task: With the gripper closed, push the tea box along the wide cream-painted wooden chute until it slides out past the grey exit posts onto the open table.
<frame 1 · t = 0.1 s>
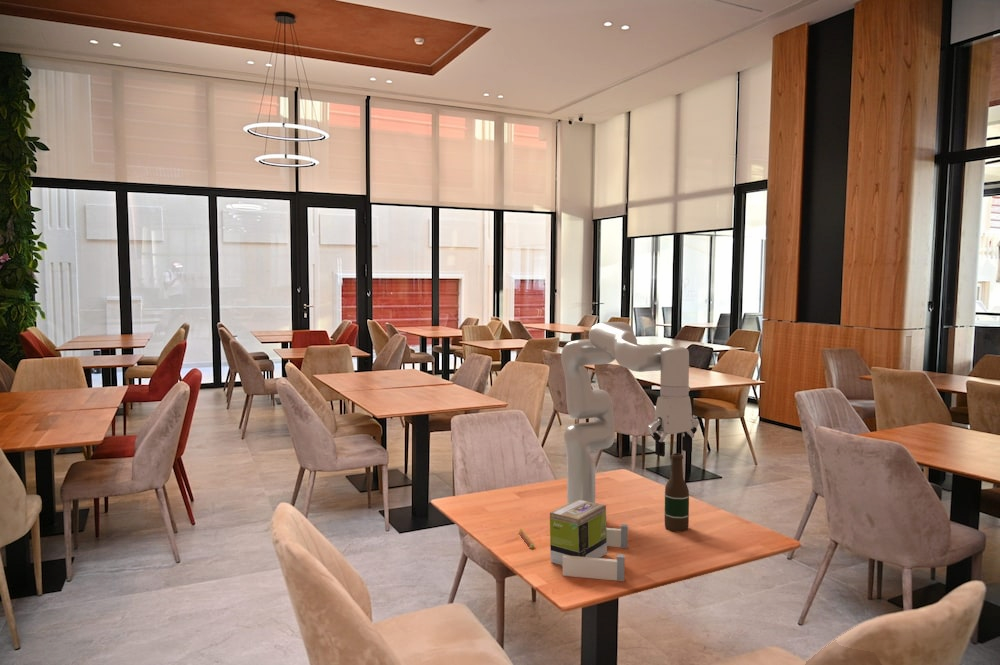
hand: (673, 453, 184), 31 cm above the table, tool pointing down, fingers open, 9 cm apart
chocolate bar: (526, 543, 204), on the table
tea box: (578, 559, 190), on the table
beer bottle: (676, 528, 214), on the table
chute: (596, 559, 189), on the table
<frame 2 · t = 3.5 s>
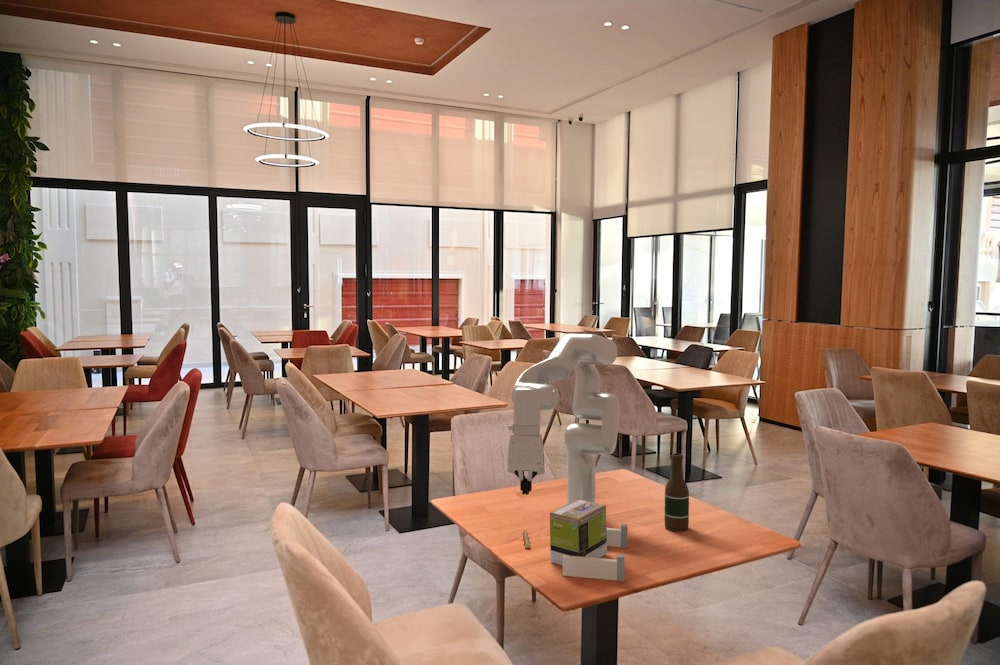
hand: (525, 493, 192), 18 cm above the table, tool pointing down, fingers closed
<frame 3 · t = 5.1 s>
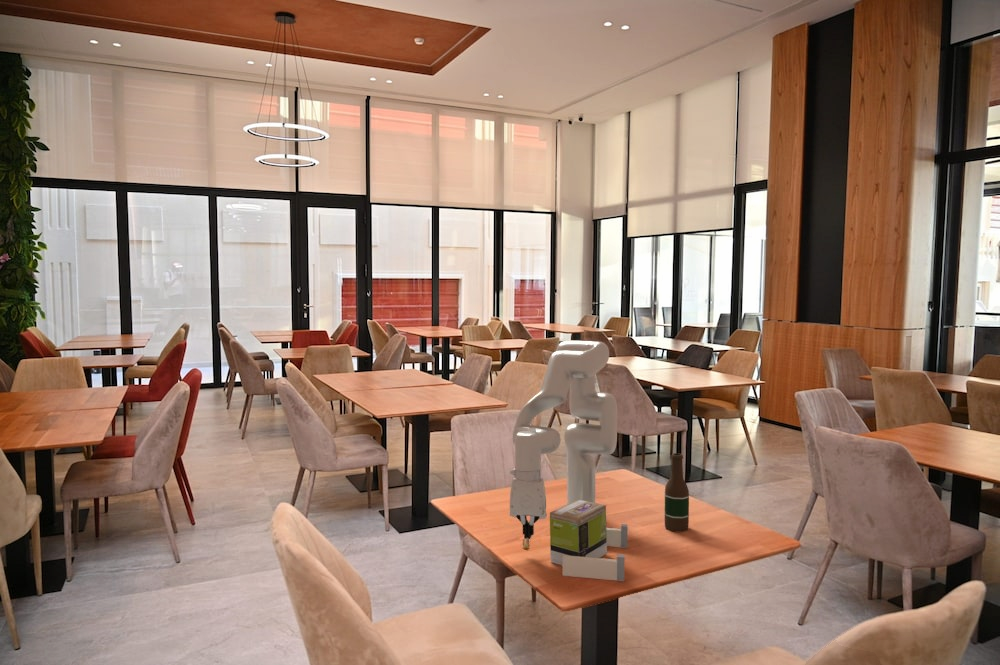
hand: (528, 536, 193), 5 cm above the table, tool pointing down, fingers closed
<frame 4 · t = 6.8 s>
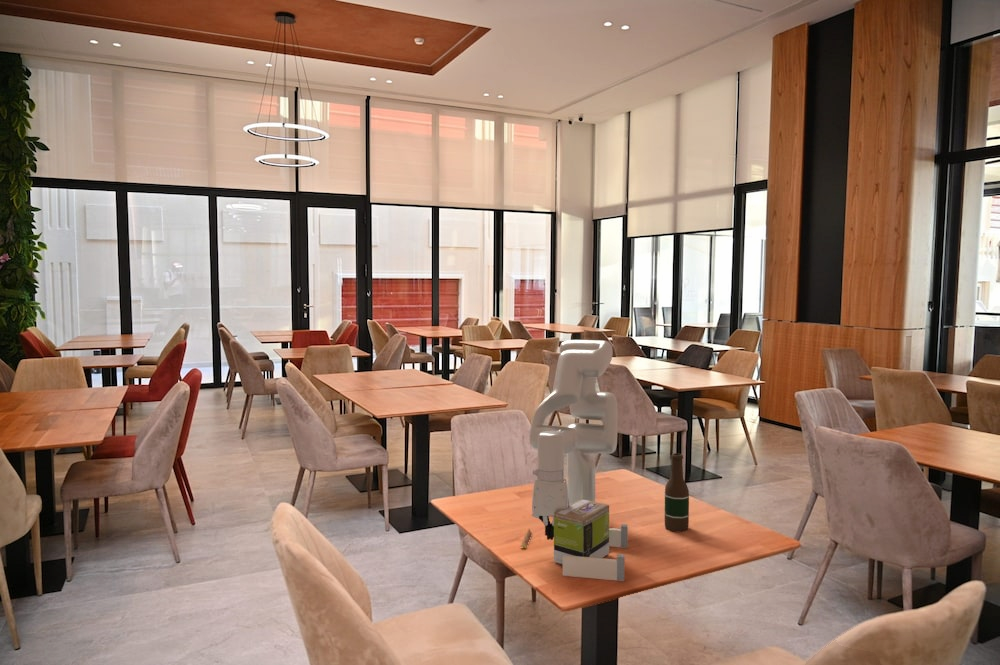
hand: (550, 538, 191), 5 cm above the table, tool pointing down, fingers closed
tea box: (581, 559, 190), on the table, touching gripper
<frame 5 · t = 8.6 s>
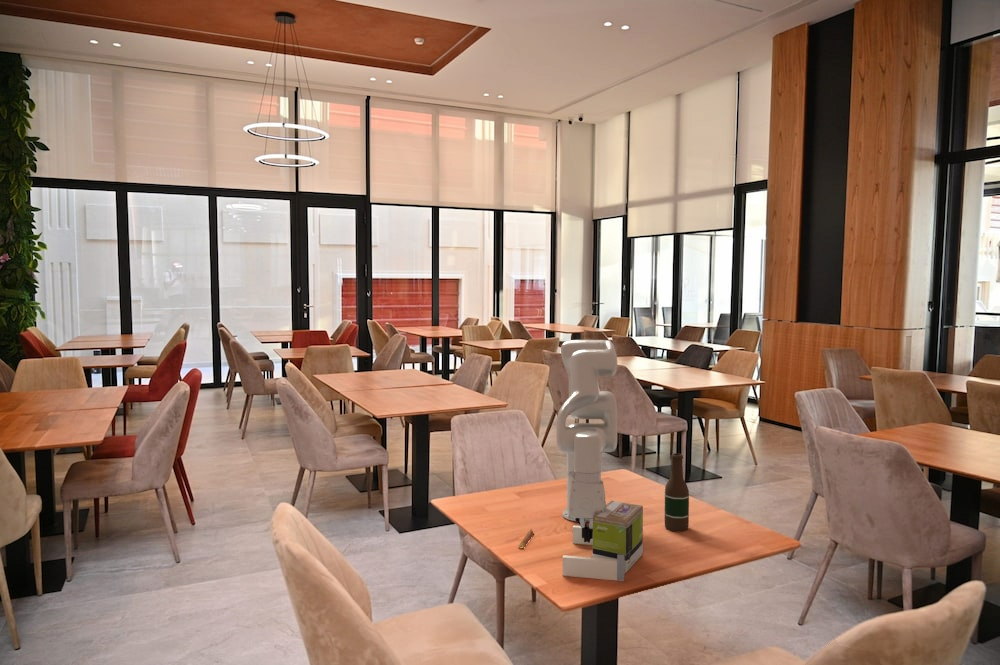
hand: (587, 540, 189), 6 cm above the table, tool pointing down, fingers closed
tea box: (617, 561, 188), on the table, touching gripper
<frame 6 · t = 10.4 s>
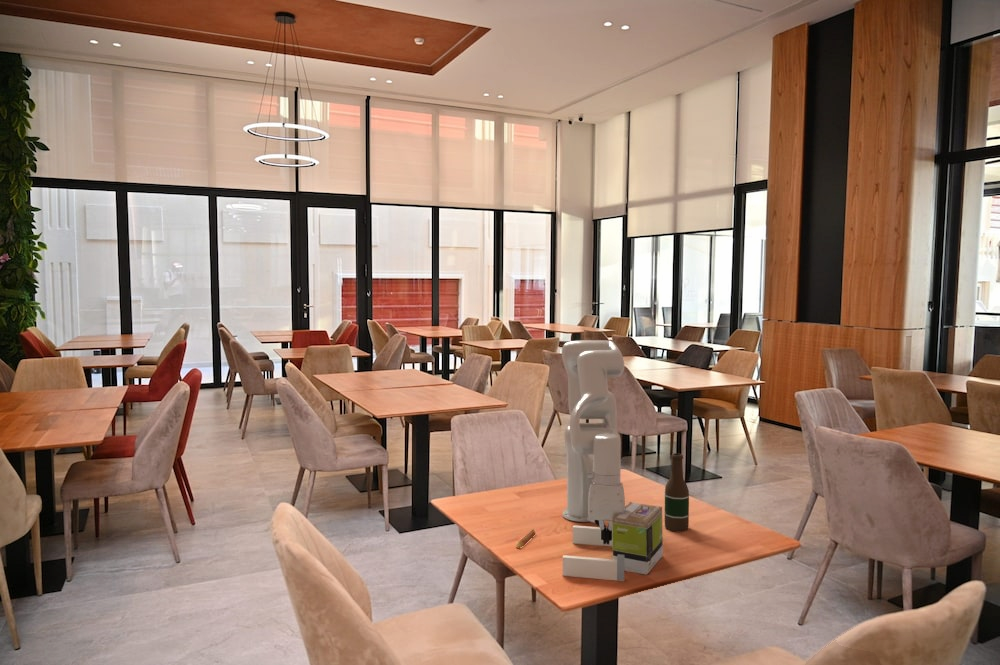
hand: (606, 542, 188), 5 cm above the table, tool pointing down, fingers closed
tea box: (638, 563, 187), on the table, touching gripper
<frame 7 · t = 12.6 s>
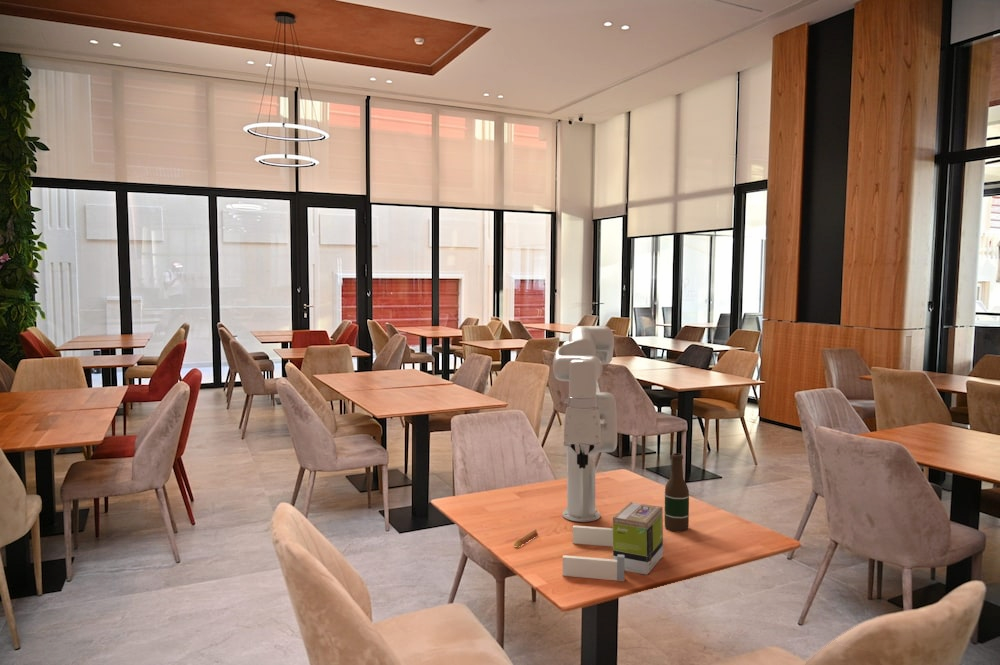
hand: (582, 467, 189), 26 cm above the table, tool pointing down, fingers closed
tea box: (638, 563, 187), on the table
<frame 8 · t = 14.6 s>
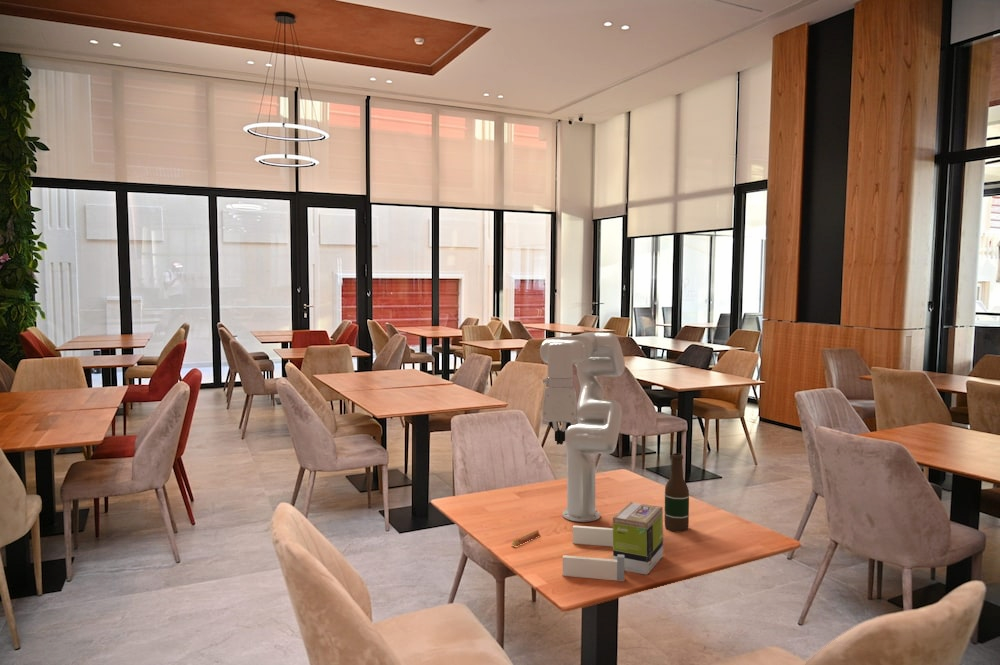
hand: (560, 443, 202), 30 cm above the table, tool pointing down, fingers closed
at the end: tea box inside the target area (2.9 cm from its centre), on the table; tea box tilted 0°; tea box moved 16.7 cm from its start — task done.
